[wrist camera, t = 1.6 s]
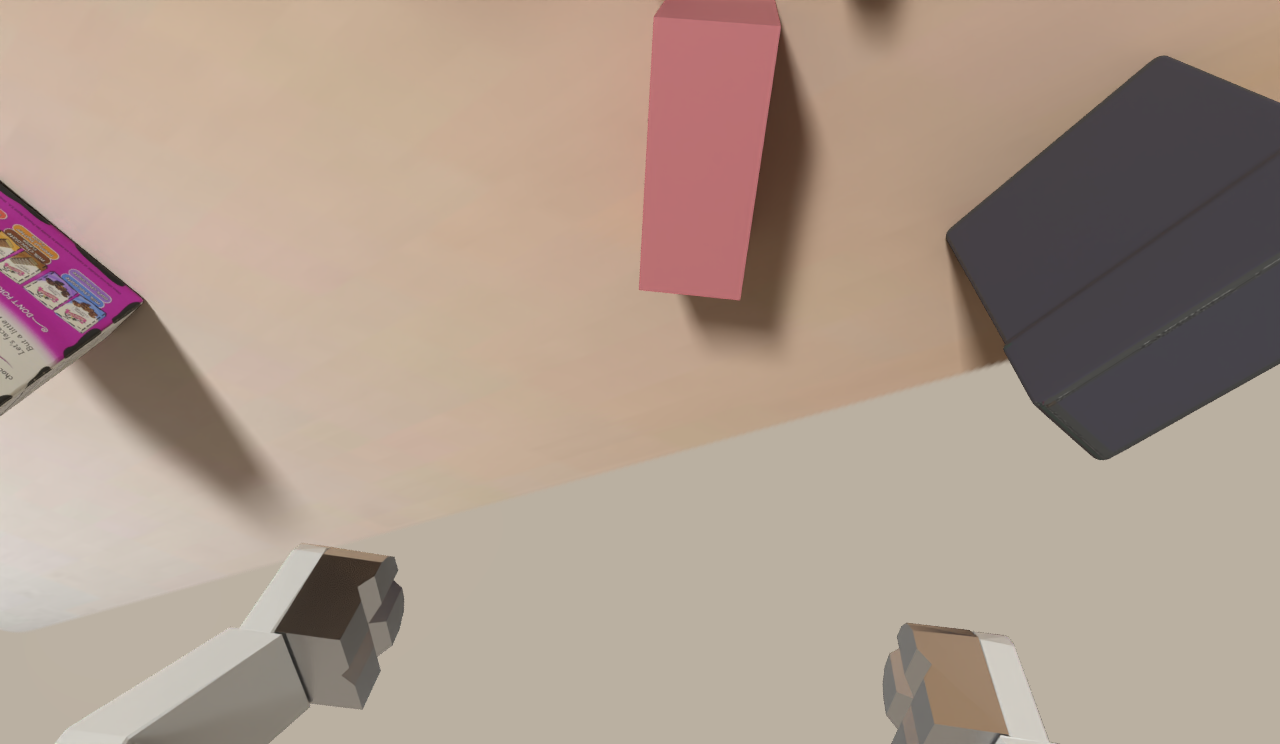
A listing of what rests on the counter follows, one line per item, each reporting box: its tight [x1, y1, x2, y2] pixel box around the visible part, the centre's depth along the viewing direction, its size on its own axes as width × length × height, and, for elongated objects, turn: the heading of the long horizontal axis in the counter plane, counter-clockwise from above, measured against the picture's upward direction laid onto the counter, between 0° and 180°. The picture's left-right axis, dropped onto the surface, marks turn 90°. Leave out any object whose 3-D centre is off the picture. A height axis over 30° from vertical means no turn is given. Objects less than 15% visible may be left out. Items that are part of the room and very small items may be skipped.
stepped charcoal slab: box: [946, 56, 1280, 460], centre depth 27 cm, size 11×4×15 cm, turn 141°
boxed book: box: [639, 0, 781, 300], centre depth 31 cm, size 4×11×7 cm, turn 177°
